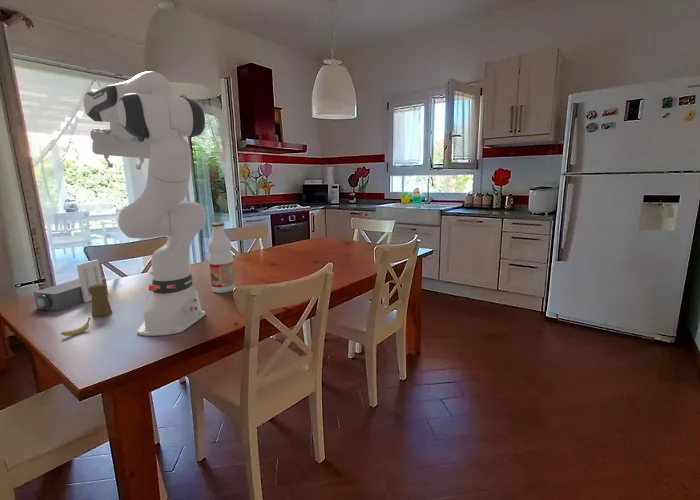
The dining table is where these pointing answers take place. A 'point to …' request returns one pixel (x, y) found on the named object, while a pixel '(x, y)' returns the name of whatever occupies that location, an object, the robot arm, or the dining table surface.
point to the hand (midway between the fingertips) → (124, 168)
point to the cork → (99, 301)
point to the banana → (76, 330)
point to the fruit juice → (221, 260)
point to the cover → (89, 277)
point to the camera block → (60, 296)
